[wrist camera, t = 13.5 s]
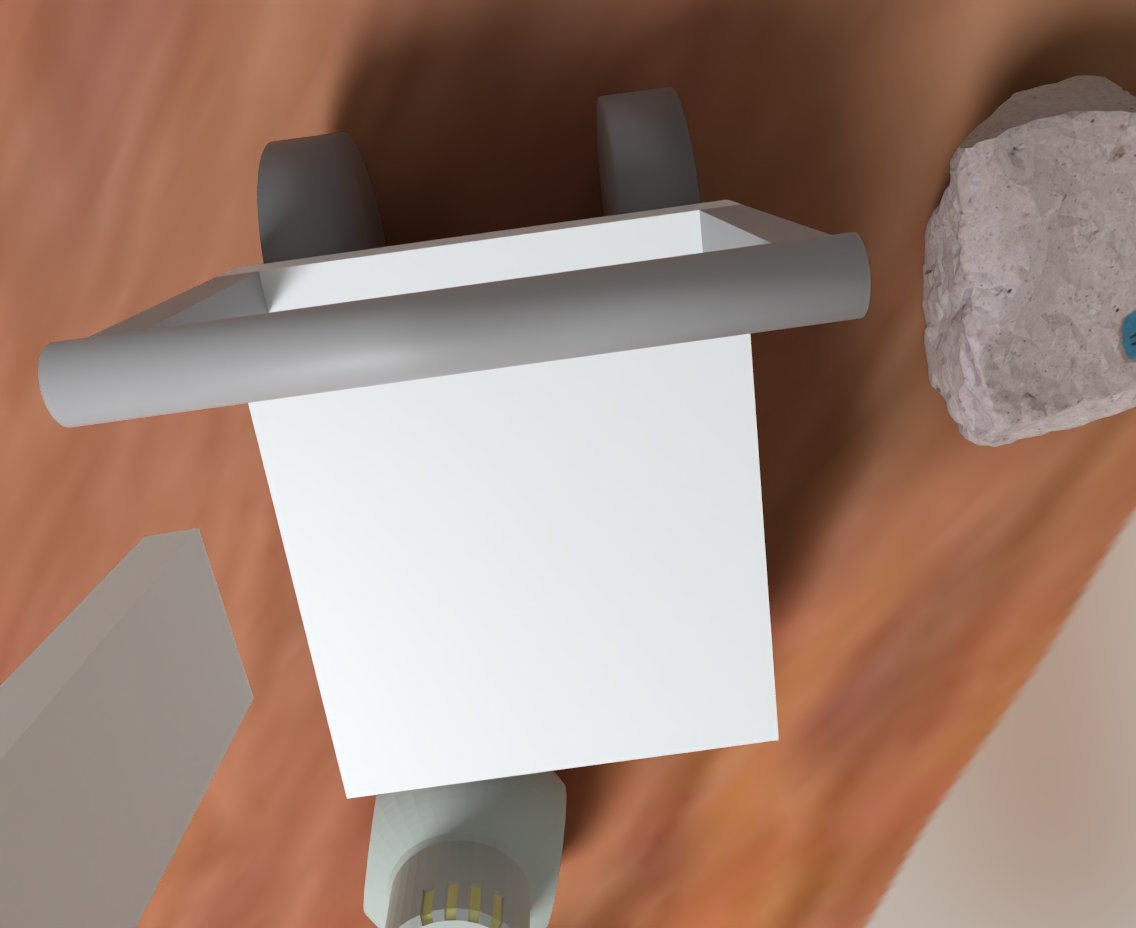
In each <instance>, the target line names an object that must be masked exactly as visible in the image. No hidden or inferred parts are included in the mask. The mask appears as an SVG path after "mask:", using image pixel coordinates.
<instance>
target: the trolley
mask: <svg viewBox="0 0 1136 928" xmlns="http://www.w3.org/2000/svg"><path fill="white" fill-rule="evenodd" d="M596 135H597V152H598V166H599V178H600V188H601V198H602V208H603V216H602V217H595V218H588V219H581V220H573V221H566V222H559V223H552V224H544V225H537V226H530V227H523V228H516V229H508V230H501V231H494V232H487V233H480V234H472V235H465V236H458V237H451V238H443V239H436V240H429V241H422V242H415V243H407V244H400V245H393V246H387V244H386V239H385V234H384V230H383V225H382V221H381V217H380V213H379V208H378V205H377V201H376V197H375V194H374V190H373V187H372V184H371V180H370V177H369V174H368V171H367V168H366V166H365V163H364V161H363V158H362V156H361V153H360V151H359V149H358V147H357V145H356V143H355V142H354V140H353V139H352V137H351V136H350V135H349V134H348V133H346V132H338V133H331V134H324V135H317V136H310V137H302V138H295V139H288V140H281V141H274V142H270V143H268V145H267V146H266V147H265V149H264V151H263V153H262V156H261V160H260V164H259V171H258V185H257V205H258V222H259V232H260V241H261V248H262V255H263V261H264V264H258V265H251V266H244V267H237V268H235V269H232V270H230V271H228V272H226V273H224V274H222V275H220V276H218V277H215V278H213V279H211V280H209V281H207V282H205V283H203V284H201V285H198V286H196V287H194V288H192V289H190V290H188V291H186V292H184V293H181V294H179V295H177V296H175V297H173V298H171V299H169V300H167V301H164V302H162V303H160V304H158V305H156V306H154V307H152V308H150V309H147V310H145V311H143V312H141V313H139V314H137V315H135V316H133V317H130V318H128V319H126V320H124V321H122V322H120V323H118V324H116V325H113V326H111V327H109V328H107V329H105V330H103V331H101V332H99V333H96V334H94V335H92V336H90V337H88V338H82V339H75V340H68V341H61V342H53V343H49V344H48V345H46V346H45V348H44V349H43V351H42V353H41V355H40V359H39V366H38V376H39V385H40V389H41V393H42V397H43V399H44V402H45V404H46V407H47V408H48V410H49V412H50V414H51V415H52V416H53V418H54V419H55V420H56V421H57V422H58V423H59V424H61V425H62V426H65V427H77V426H84V425H91V424H98V423H106V422H113V421H120V420H127V419H135V418H142V417H149V416H156V415H164V414H171V413H178V412H185V411H193V410H200V409H207V408H214V407H222V406H229V405H236V404H243V403H248V404H249V408H250V412H251V416H252V420H253V424H254V428H255V432H256V436H257V440H258V444H259V448H260V452H261V456H262V460H263V464H264V468H265V472H266V476H267V480H268V484H269V488H270V492H271V496H272V500H273V504H274V508H275V512H276V516H277V520H278V524H279V528H280V532H281V536H282V540H283V544H284V548H285V552H286V556H287V560H288V564H289V568H290V572H291V576H292V580H293V584H294V588H295V592H296V596H297V600H298V604H299V608H300V612H301V616H302V620H303V624H304V628H305V632H306V636H307V640H308V644H309V648H310V652H311V656H312V660H313V664H314V668H315V672H316V676H317V680H318V684H319V688H320V692H321V696H322V700H323V704H324V708H325V712H326V716H327V720H328V724H329V728H330V732H331V736H332V740H333V744H334V748H335V752H336V756H337V760H338V764H339V768H340V772H341V776H342V780H343V784H344V788H345V792H346V796H347V798H355V797H362V796H370V795H377V794H384V793H392V792H399V791H406V790H414V789H421V788H428V787H436V786H443V785H450V784H458V783H465V782H473V781H480V780H487V779H495V778H502V777H509V776H517V775H524V774H531V773H539V772H546V771H553V770H561V769H568V768H576V767H583V766H590V765H598V764H605V763H612V762H620V761H627V760H634V759H642V758H649V757H656V756H664V755H671V754H679V753H686V752H693V751H701V750H708V749H715V748H723V747H730V746H737V745H745V744H752V743H759V742H767V741H774V740H779V739H778V725H777V710H776V696H775V682H774V667H773V653H772V638H771V624H770V609H769V595H768V581H767V566H766V552H765V537H764V523H763V508H762V494H761V480H760V465H759V451H758V436H757V422H756V407H755V393H754V379H753V364H752V350H751V335H750V334H751V333H758V332H765V331H773V330H780V329H787V328H794V327H802V326H809V325H816V324H823V323H831V322H838V321H845V320H852V319H860V318H863V317H864V316H865V314H866V312H867V310H868V307H869V302H870V293H871V277H870V267H869V261H868V256H867V252H866V249H865V246H864V243H863V241H862V239H861V237H860V236H859V235H858V234H857V233H856V232H848V233H841V234H834V235H830V234H827V233H824V232H821V231H819V230H816V229H813V228H810V227H807V226H804V225H801V224H798V223H795V222H792V221H789V220H786V219H783V218H780V217H777V216H775V215H772V214H769V213H766V212H763V211H760V210H757V209H754V208H751V207H748V206H745V205H742V204H739V203H736V202H733V201H731V200H728V199H727V200H720V201H713V202H706V203H701V202H700V194H699V187H698V179H697V173H696V166H695V160H694V155H693V149H692V144H691V139H690V135H689V130H688V126H687V122H686V118H685V114H684V111H683V108H682V105H681V102H680V99H679V97H678V95H677V93H676V91H675V89H674V88H673V87H670V86H669V87H662V88H654V89H647V90H640V91H633V92H626V93H619V94H611V95H604V96H598V98H597V102H596Z"/></svg>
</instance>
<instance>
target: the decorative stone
mask: <svg viewBox="0 0 1136 928" xmlns="http://www.w3.org/2000/svg"><path fill="white" fill-rule="evenodd" d="M949 163H950V167H951V169H950V176H951V179H950V184H949V186H948V187H947V188H946V189H945V191H944V194H943V196H942V199H941V202H940V203H939V205H938V207H937V208H936V209H935V210H934V211H933V213H932V215H931V217H930V219H929V221H928V223H927V226H926V230H925V264H924V265H923V279H924V289H923V299H922V307H923V311H924V316H925V321H926V325H927V328H926V329H925V336H924V343H925V350H926V358H927V362H928V376H929V380H930V383H931V386H932V387H934V388H935V389H936V390H937V391H938V392H939V393H940V394H941V395H942V396H943V397H944V399H945V401H946V405H947V409H948V411H949V414H950V415H951V417H952V418H953V419H954V421H955V422H957V423H958V429H959V431H960V434H962V435H963V437H964V438H966V439H967V440H969V441H971V442H973V443H975V444H977V445H988V446H994V447H996V446H1000V445H1003V444H1010V443H1013V442H1015V441H1016V440H1018V439H1023V438H1028V437H1033V436H1039V435H1043V434H1045V433H1047V432H1050V431H1057V430H1065V429H1071V428H1075V427H1078V426H1082V425H1085V424H1087V423H1089V422H1091V421H1094V420H1097V419H1100V418H1103V417H1108V416H1112V415H1115V414H1118V413H1120V412H1123V411H1125V410H1128V409H1130V408H1133V407H1135V406H1136V96H1133V95H1131V94H1130V92H1129V91H1124V90H1123V89H1122V88H1121V87H1120V86H1119V85H1117V84H1115V83H1114V82H1112V81H1110V80H1109V79H1107V78H1106V77H1103V76H1093V75H1080V76H1074V77H1071V78H1068V79H1065V80H1063V81H1060V82H1058V83H1054V84H1047V85H1042V86H1039V87H1036V88H1032V89H1029V90H1025V91H1020V92H1017V93H1014V94H1013V95H1011V97H1010V98H1009V99H1008V100H1007V101H1005V102H1004V103H1003V104H1002V105H1000V106H999V107H998V108H997V109H996V110H995V111H994V113H993V114H992V115H991V116H990V117H989V118H987V119H986V120H985V121H983V122H982V123H981V124H980V125H979V126H977V127H976V128H975V129H974V130H973V131H972V132H971V133H970V134H969V135H968V136H967V137H966V138H965V139H964V140H963V142H962V143H961V144H960V145H959V147H958V148H957V150H956V151H955V153H954V155H953V157H952V159H951V160H950V162H949Z"/></svg>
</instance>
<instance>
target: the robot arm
mask: <svg viewBox="0 0 1136 928" xmlns="http://www.w3.org/2000/svg"><path fill="white" fill-rule="evenodd" d="M253 699H254V698H253V694H252V691H251V688H250V685H249V682H248V679H247V676H246V673H245V670H244V667H243V664H242V660H241V657H240V654H239V651H238V648H237V645H236V642H235V639H234V636H233V633H232V630H231V626H230V623H229V620H228V617H227V614H226V611H225V608H224V605H223V602H222V599H221V596H220V592H219V589H218V586H217V583H216V580H215V577H214V574H213V571H212V568H211V565H210V561H209V558H208V555H207V552H206V549H205V546H204V543H203V540H202V537H201V534H200V531H199V528H195V529H189V530H183V531H176V532H170V533H164V534H157V535H151V536H145V537H143V539H142V540H141V541H140V542H139V543H138V544H137V545H136V546H135V547H134V548H133V549H132V550H131V551H130V552H129V553H128V554H127V555H126V556H125V557H124V558H123V559H122V560H121V561H120V562H119V563H118V564H117V565H116V566H115V568H114V569H113V570H112V571H111V572H110V573H109V574H108V575H107V576H106V577H105V578H104V579H103V580H102V581H101V582H100V583H99V584H98V585H97V586H96V587H95V588H94V589H93V590H92V591H91V592H90V593H89V594H88V596H87V597H86V598H85V599H84V600H83V601H82V602H81V603H80V604H79V605H78V606H77V607H76V608H75V609H74V610H73V611H72V612H71V613H70V614H69V615H68V616H67V617H66V618H65V619H64V620H63V621H62V622H61V623H60V625H59V626H58V627H57V628H56V629H55V630H54V631H53V632H52V633H51V634H50V635H49V636H48V637H47V638H46V639H45V640H44V641H43V642H42V643H41V644H40V645H39V646H38V647H37V648H36V649H35V650H34V651H33V652H32V654H31V655H30V656H29V657H28V658H27V659H26V660H25V661H24V662H23V663H22V664H21V665H20V666H19V667H18V668H17V669H16V670H15V671H14V672H13V673H12V674H11V675H10V676H9V677H8V678H7V679H6V680H5V682H4V683H3V684H2V685H1V686H0V928H136V927H137V925H138V923H139V921H140V919H141V917H142V915H143V913H144V911H145V909H146V907H147V905H148V903H149V901H150V899H151V898H152V896H153V894H154V892H155V890H156V888H157V886H158V884H159V882H160V880H161V878H162V876H163V874H164V872H165V870H166V868H167V866H168V864H169V862H170V860H171V859H172V857H173V855H174V853H175V851H176V849H177V847H178V845H179V843H180V841H181V839H182V837H183V835H184V833H185V831H186V829H187V827H188V825H189V823H190V821H191V820H192V818H193V816H194V814H195V812H196V810H197V808H198V806H199V804H200V802H201V800H202V798H203V796H204V794H205V792H206V790H207V788H208V786H209V784H210V782H211V781H212V779H213V777H214V775H215V773H216V771H217V769H218V767H219V765H220V763H221V761H222V759H223V757H224V755H225V753H226V751H227V749H228V747H229V745H230V743H231V742H232V740H233V738H234V736H235V734H236V732H237V730H238V728H239V726H240V724H241V722H242V720H243V718H244V716H245V714H246V712H247V710H248V708H249V706H250V704H251V703H252V701H253Z"/></svg>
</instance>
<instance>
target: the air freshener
mask: <svg viewBox="0 0 1136 928" xmlns="http://www.w3.org/2000/svg"><path fill="white" fill-rule="evenodd" d="M565 818H566V786H565V784H564V783H563V782H562V781H561V779H560V778H559V777H558V776H557V774H556V773H555V772H554V771H546V772H539V773H531V774H524V775H517V776H509V777H502V778H495V779H487V780H480V781H473V782H465V783H458V784H450V785H443V786H436V787H428V788H421V789H414V790H406V791H399V792H392V793H384V794H377V796H376V802H375V809H374V816H373V823H372V830H371V838H370V845H369V854H368V862H367V871H366V881H365V892H364V912H365V914H366V915H367V916H368V917H369V918H370V919H371V920H372V921H373V922H374V923H375V924H376V926H377V927H378V928H546V927H547V926H548V924H549V920H550V917H551V913H552V909H553V905H554V900H555V895H556V889H557V883H558V877H559V871H560V864H561V856H562V849H563V840H564V830H565Z"/></svg>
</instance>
